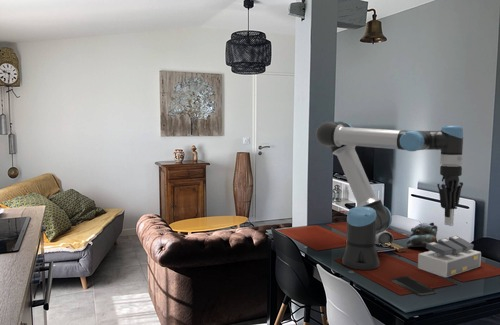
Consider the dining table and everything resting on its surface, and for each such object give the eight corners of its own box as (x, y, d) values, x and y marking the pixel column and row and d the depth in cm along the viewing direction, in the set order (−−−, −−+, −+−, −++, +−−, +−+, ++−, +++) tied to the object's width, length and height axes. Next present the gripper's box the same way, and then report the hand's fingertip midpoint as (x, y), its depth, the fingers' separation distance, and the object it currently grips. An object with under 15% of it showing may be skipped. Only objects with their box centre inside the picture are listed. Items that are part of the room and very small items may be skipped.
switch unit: (446, 277, 149) (447, 258, 148) (417, 268, 159) (418, 250, 159) (481, 266, 161) (482, 248, 160) (452, 258, 171) (453, 241, 171)
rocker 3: (472, 249, 162) (474, 244, 161) (465, 251, 159) (467, 246, 158) (454, 239, 168) (456, 235, 167) (447, 241, 165) (449, 236, 165)
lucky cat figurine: (400, 246, 189) (402, 219, 194) (416, 253, 194) (418, 226, 199) (427, 245, 176) (428, 215, 181) (444, 252, 181) (445, 223, 186)
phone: (419, 294, 132) (390, 278, 146) (419, 297, 132) (390, 281, 146) (437, 291, 135) (407, 275, 149) (437, 294, 135) (407, 278, 149)
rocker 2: (462, 252, 158) (463, 247, 157) (454, 254, 155) (456, 249, 155) (444, 242, 164) (445, 237, 164) (437, 243, 162) (438, 239, 161)
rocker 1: (451, 253, 154) (452, 248, 153) (444, 255, 151) (445, 250, 151) (433, 246, 160) (434, 241, 160) (425, 248, 158) (426, 243, 157)
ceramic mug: (388, 242, 195) (388, 227, 195) (393, 247, 187) (393, 232, 187) (366, 243, 196) (366, 228, 195) (371, 248, 188) (371, 232, 187)
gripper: (449, 166, 145) (447, 229, 147) (470, 165, 151) (468, 225, 153) (431, 165, 152) (429, 225, 153) (452, 164, 158) (450, 221, 160)
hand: (448, 224), depth 153 cm, fingers closed
